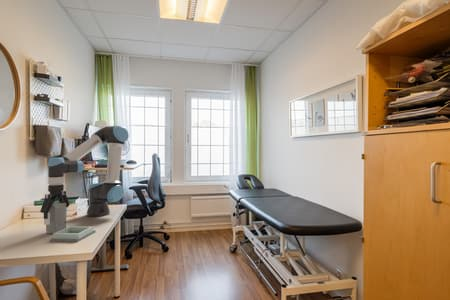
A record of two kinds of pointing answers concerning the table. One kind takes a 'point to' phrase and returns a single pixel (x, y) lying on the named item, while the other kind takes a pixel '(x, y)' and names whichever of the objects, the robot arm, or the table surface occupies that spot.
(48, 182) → the robot arm
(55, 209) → the skincare box
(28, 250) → the table surface
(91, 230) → the tray
